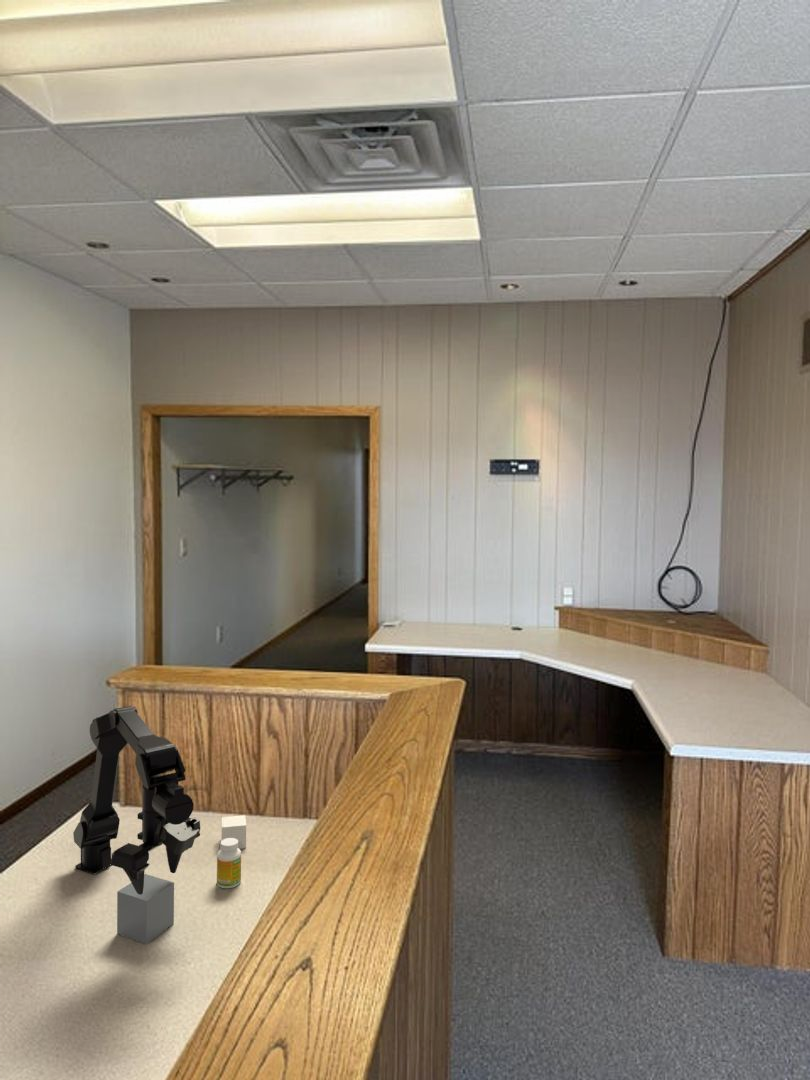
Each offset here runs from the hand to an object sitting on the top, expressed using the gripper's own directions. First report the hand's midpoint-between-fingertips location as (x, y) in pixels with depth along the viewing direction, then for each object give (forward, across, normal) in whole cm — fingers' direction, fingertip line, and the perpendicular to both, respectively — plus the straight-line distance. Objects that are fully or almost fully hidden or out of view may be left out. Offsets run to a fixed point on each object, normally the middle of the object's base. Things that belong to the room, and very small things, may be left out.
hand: (156, 883), depth 145 cm
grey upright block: (+10, 0, +3) cm, 11 cm away
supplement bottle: (+11, +22, -1) cm, 25 cm away
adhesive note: (+11, +38, +10) cm, 41 cm away
